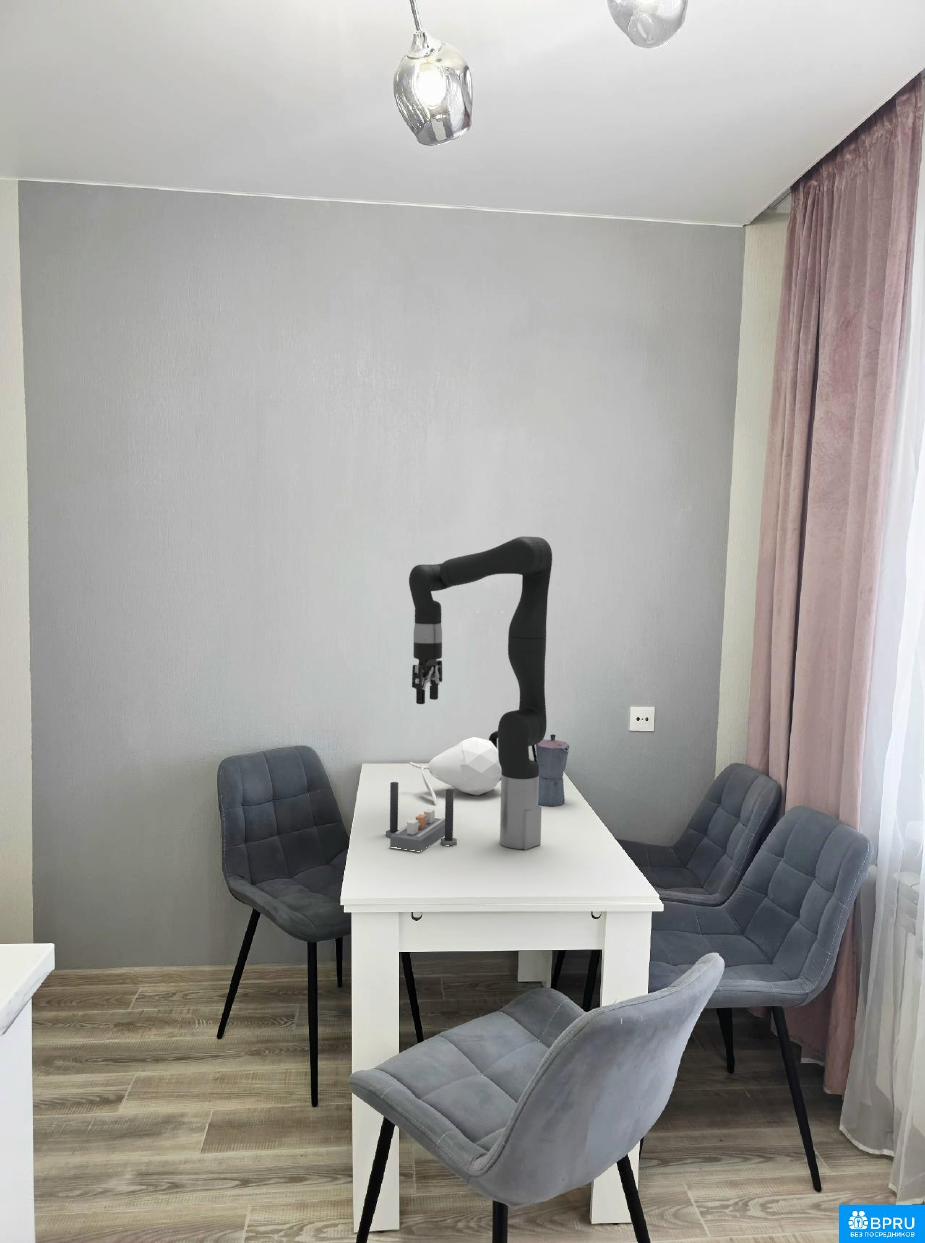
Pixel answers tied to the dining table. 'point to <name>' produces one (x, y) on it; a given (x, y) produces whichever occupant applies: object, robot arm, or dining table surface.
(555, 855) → the dining table surface
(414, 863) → the dining table surface
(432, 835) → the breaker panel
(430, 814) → the white and orange bar
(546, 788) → the moka pot
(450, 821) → the dark grey cylinder
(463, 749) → the pear ornament
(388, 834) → the dark grey lever handle
